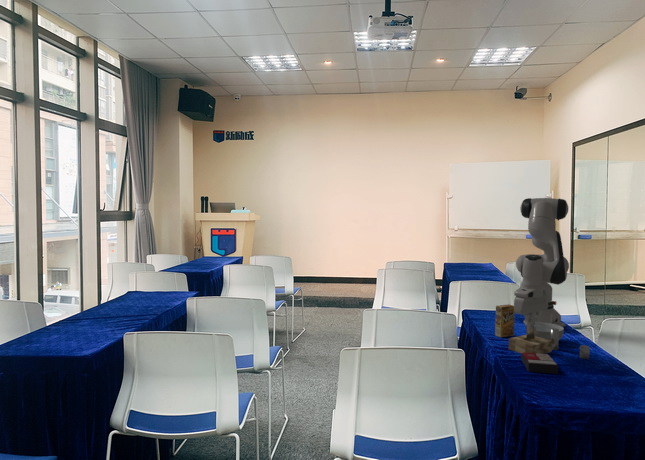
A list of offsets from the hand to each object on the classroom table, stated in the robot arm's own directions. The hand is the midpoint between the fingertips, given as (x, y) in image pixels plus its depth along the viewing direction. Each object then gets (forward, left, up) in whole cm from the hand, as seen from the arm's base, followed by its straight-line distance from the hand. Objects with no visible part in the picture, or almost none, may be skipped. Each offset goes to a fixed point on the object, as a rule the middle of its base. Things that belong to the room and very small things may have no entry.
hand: (530, 321), depth 209 cm
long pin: (0, 0, -7) cm, 7 cm away
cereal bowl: (-20, -6, -14) cm, 25 cm away
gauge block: (0, 0, -13) cm, 13 cm away
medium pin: (-12, +4, -13) cm, 18 cm away
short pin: (-12, +18, -13) cm, 25 cm away
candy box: (-10, -21, -14) cm, 27 cm away
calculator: (+15, +14, -14) cm, 25 cm away
